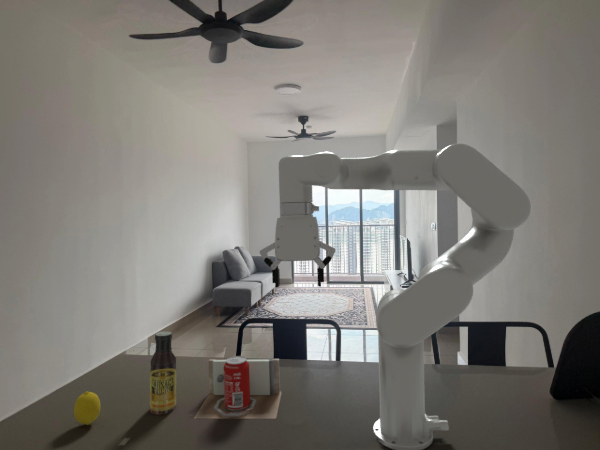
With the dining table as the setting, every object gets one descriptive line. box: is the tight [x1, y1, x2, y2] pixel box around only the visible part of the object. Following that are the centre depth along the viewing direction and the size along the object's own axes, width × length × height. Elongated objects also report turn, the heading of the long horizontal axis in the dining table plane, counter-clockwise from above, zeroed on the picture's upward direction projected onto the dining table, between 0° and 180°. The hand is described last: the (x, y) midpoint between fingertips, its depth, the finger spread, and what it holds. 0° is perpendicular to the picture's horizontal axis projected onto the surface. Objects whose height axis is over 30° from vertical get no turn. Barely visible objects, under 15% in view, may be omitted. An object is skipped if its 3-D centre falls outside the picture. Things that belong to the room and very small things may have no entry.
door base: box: [193, 358, 283, 420], centre depth 99 cm, size 20×14×10 cm
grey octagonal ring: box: [214, 397, 256, 417], centre depth 97 cm, size 10×10×1 cm
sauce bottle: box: [149, 330, 177, 415], centre depth 98 cm, size 7×6×20 cm
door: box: [213, 358, 275, 395], centre depth 103 cm, size 16×2×9 cm, turn 87°
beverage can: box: [224, 355, 250, 412], centre depth 97 cm, size 6×6×12 cm
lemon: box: [73, 391, 102, 426], centre depth 93 cm, size 6×6×8 cm
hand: (298, 285), depth 89 cm, fingers open, 9 cm apart
